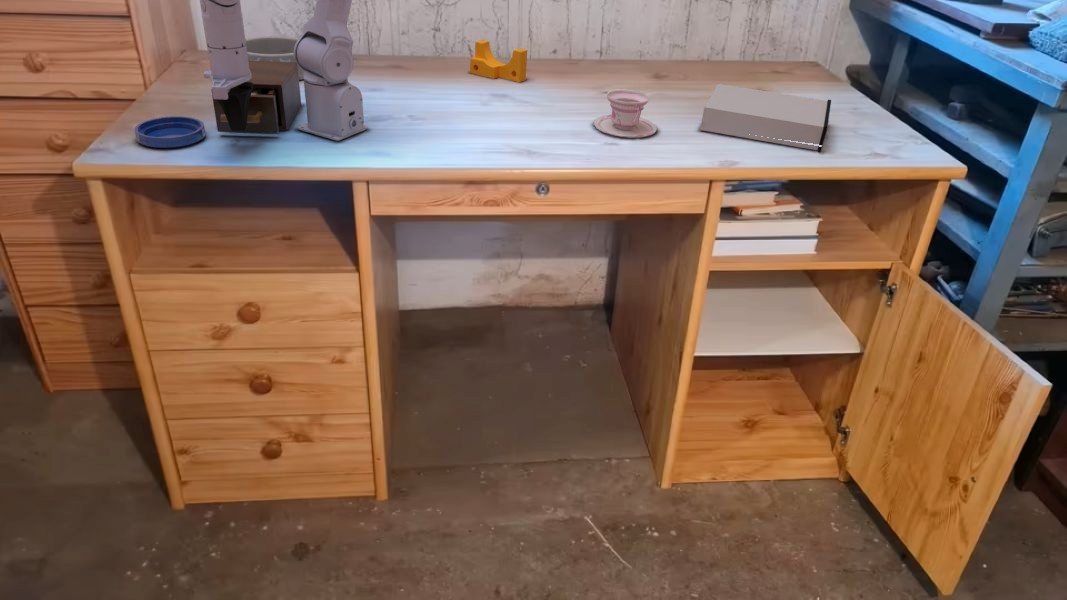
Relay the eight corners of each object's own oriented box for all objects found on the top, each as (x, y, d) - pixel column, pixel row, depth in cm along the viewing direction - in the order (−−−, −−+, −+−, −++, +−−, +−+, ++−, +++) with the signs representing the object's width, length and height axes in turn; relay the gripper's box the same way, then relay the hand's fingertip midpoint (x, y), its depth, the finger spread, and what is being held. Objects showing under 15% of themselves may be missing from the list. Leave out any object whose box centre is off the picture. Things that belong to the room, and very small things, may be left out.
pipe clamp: (470, 72, 174) (470, 43, 171) (481, 69, 177) (482, 39, 174) (514, 84, 169) (516, 53, 165) (525, 79, 172) (527, 49, 169)
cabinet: (286, 130, 137) (281, 84, 133) (221, 128, 136) (214, 82, 132) (301, 105, 149) (297, 62, 145) (241, 102, 148) (235, 59, 144)
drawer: (272, 141, 130) (268, 104, 127) (211, 139, 129) (205, 102, 126) (292, 109, 144) (288, 75, 141) (237, 107, 143) (232, 72, 140)
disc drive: (821, 152, 143) (828, 126, 141) (699, 131, 149) (704, 105, 147) (825, 124, 158) (832, 100, 155) (714, 106, 164) (718, 82, 161)
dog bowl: (280, 54, 177) (278, 30, 175) (336, 71, 169) (334, 46, 166) (215, 68, 165) (211, 43, 162) (271, 88, 157) (268, 60, 154)
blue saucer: (219, 136, 133) (217, 125, 132) (166, 154, 125) (164, 142, 124) (176, 123, 137) (174, 112, 136) (122, 140, 129) (120, 128, 128)
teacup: (583, 120, 151) (586, 88, 148) (636, 115, 155) (640, 84, 152) (612, 141, 142) (616, 108, 139) (668, 135, 146) (673, 103, 143)
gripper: (212, 32, 126) (225, 114, 133) (185, 55, 114) (200, 144, 121) (257, 34, 127) (267, 115, 134) (235, 57, 114) (247, 146, 121)
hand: (238, 129), depth 127 cm, fingers closed
